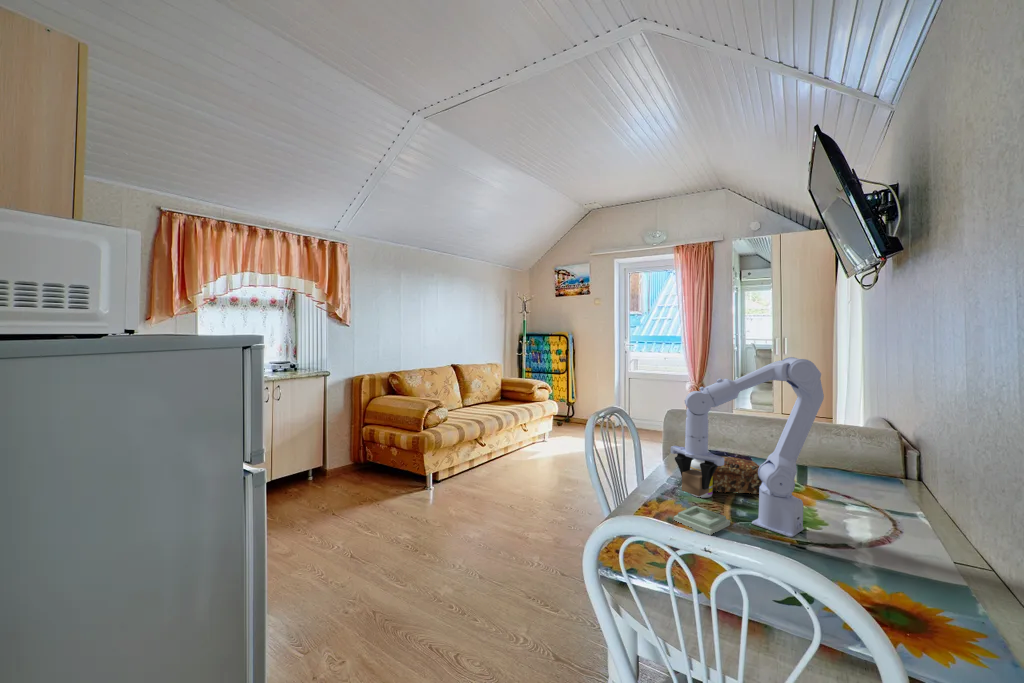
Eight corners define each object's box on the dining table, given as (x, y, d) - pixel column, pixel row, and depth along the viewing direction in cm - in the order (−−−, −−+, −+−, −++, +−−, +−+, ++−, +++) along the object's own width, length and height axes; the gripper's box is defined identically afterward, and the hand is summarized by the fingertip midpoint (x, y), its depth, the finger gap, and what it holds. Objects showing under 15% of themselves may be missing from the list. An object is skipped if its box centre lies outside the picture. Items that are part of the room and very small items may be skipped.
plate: (730, 524, 113) (730, 516, 113) (710, 535, 107) (710, 526, 107) (694, 511, 121) (694, 504, 121) (673, 520, 115) (673, 512, 115)
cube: (708, 492, 118) (709, 474, 118) (698, 496, 115) (699, 477, 115) (691, 486, 122) (692, 469, 122) (681, 490, 119) (682, 472, 119)
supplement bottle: (707, 491, 137) (709, 450, 137) (715, 499, 131) (716, 456, 130) (686, 490, 138) (687, 449, 138) (692, 498, 131) (693, 455, 131)
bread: (701, 492, 137) (702, 460, 137) (693, 480, 147) (694, 451, 147) (765, 497, 134) (766, 464, 133) (752, 485, 144) (753, 455, 144)
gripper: (664, 432, 121) (663, 480, 122) (714, 443, 110) (713, 496, 110) (679, 429, 126) (678, 475, 126) (728, 439, 114) (727, 491, 114)
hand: (695, 485), depth 118 cm, fingers closed on cube, 5 cm apart
